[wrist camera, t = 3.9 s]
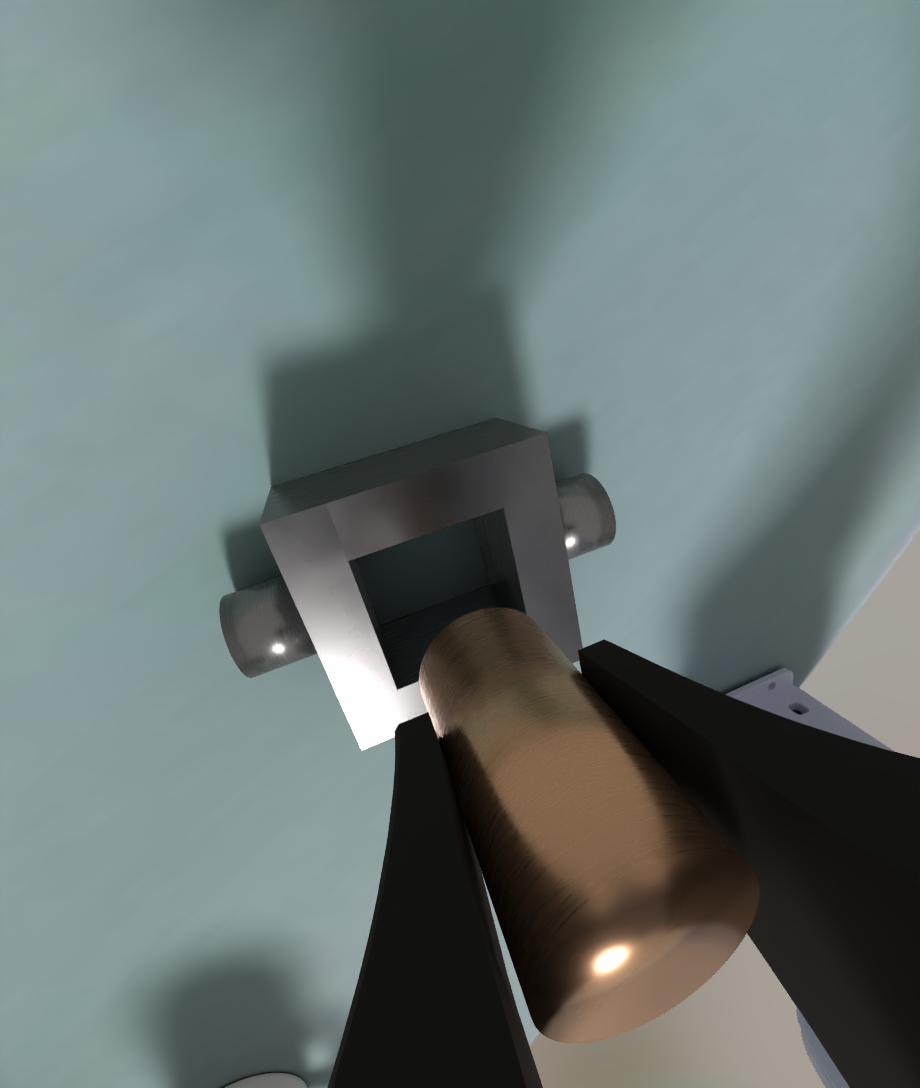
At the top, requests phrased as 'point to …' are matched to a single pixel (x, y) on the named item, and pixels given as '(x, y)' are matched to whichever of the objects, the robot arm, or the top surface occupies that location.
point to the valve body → (395, 517)
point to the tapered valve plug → (579, 834)
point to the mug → (270, 1081)
